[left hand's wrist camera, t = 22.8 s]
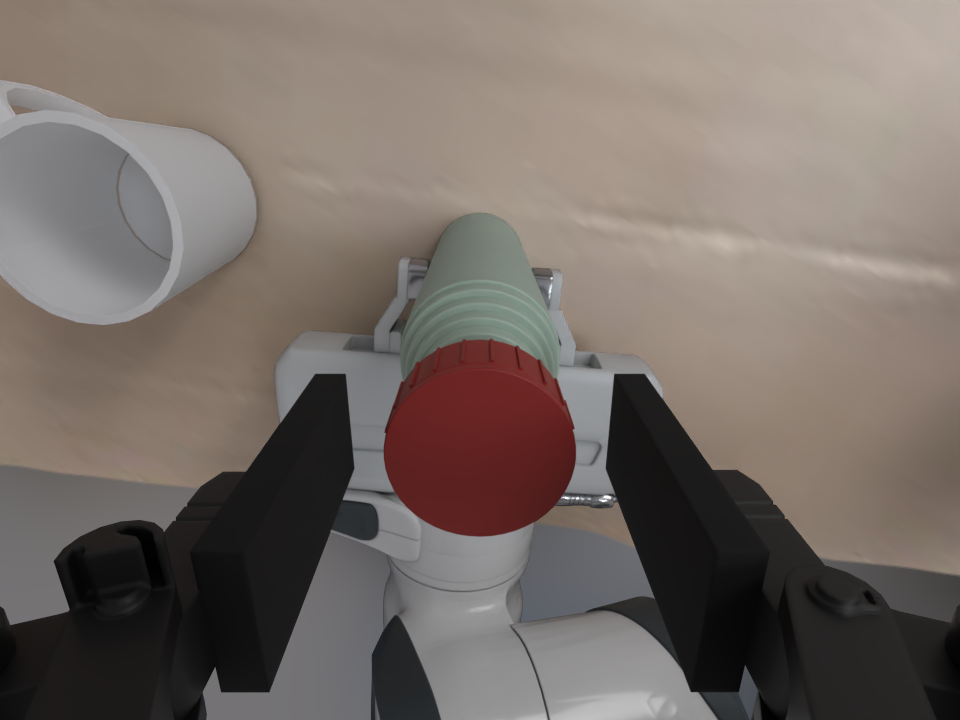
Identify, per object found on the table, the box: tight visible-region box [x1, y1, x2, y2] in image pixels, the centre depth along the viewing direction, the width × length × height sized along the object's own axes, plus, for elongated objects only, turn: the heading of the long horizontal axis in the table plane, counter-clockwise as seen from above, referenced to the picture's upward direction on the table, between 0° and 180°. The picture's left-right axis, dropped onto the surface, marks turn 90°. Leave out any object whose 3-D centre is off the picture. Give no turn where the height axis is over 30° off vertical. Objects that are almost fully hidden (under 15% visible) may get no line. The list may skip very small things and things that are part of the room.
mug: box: [0, 80, 258, 325], centre depth 29 cm, size 11×9×10 cm
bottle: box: [400, 213, 560, 382], centre depth 24 cm, size 5×5×23 cm
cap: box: [384, 339, 576, 537], centre depth 14 cm, size 4×4×2 cm
